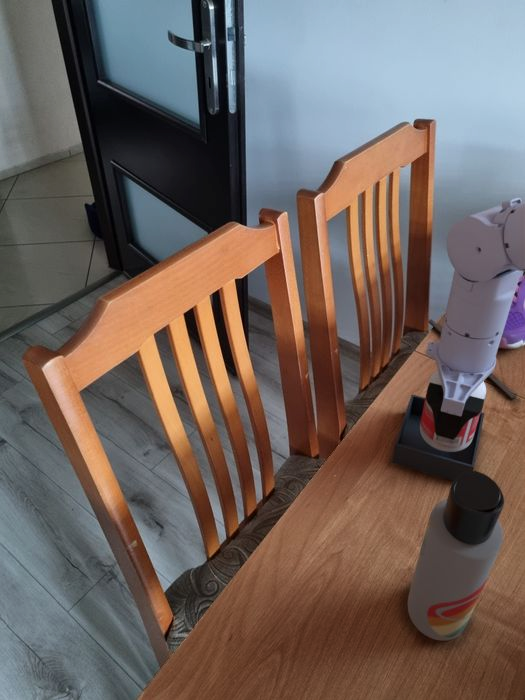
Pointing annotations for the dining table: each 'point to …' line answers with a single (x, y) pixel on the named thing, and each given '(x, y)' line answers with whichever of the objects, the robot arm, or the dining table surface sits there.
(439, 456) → the box
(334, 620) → the dining table surface
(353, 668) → the dining table surface
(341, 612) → the dining table surface
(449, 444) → the pill bottle
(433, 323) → the rod
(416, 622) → the black capped bottle
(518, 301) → the running shoe
